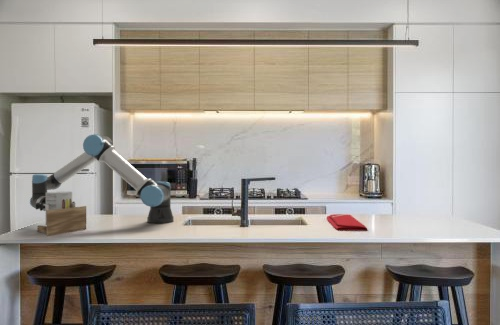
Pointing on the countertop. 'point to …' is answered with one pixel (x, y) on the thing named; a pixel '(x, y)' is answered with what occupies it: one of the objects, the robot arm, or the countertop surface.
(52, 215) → the box
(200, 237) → the countertop surface
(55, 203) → the supplement box
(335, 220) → the dish drying mat
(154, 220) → the robot arm
